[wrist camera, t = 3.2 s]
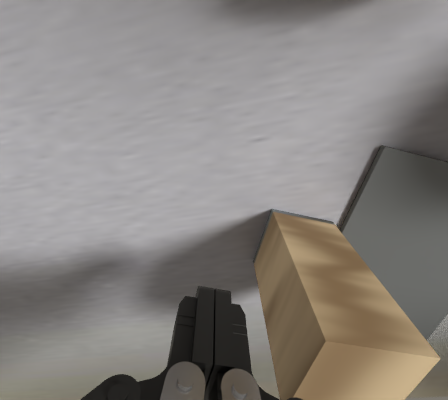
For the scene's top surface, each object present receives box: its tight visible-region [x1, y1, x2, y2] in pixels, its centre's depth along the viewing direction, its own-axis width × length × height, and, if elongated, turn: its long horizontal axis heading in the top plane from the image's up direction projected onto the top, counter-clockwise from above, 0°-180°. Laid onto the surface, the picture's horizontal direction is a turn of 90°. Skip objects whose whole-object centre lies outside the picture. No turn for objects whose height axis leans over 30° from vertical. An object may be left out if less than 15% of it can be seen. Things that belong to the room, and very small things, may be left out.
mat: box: [340, 145, 448, 340], centre depth 20 cm, size 12×16×1 cm
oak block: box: [253, 209, 441, 400], centre depth 15 cm, size 4×4×10 cm
